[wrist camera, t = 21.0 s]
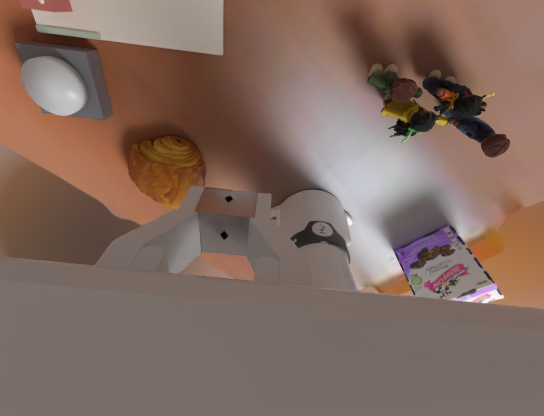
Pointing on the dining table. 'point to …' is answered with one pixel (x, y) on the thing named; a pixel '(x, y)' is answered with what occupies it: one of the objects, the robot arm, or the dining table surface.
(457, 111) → the doll family
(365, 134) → the dining table surface
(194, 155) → the croissant
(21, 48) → the base
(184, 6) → the board
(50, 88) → the dome plunger
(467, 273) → the candy box
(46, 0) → the red die
